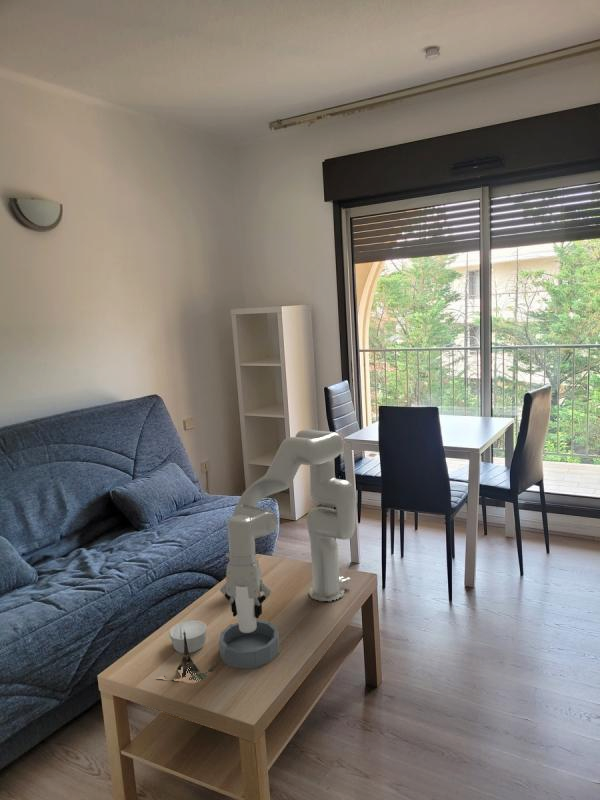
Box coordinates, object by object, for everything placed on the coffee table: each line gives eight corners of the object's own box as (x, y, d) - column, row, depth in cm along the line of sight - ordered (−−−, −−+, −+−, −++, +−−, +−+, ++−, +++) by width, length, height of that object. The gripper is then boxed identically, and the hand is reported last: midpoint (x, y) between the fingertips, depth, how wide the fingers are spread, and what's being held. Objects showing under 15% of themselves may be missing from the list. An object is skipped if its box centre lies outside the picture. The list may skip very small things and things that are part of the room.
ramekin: (163, 647, 179) (162, 631, 178) (193, 631, 187) (191, 616, 186) (185, 660, 171) (183, 643, 170) (215, 643, 179) (213, 627, 178)
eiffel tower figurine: (154, 681, 163) (149, 637, 161) (171, 660, 172) (166, 618, 170) (204, 687, 159) (199, 642, 157) (218, 665, 168) (214, 622, 167)
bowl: (262, 628, 186) (261, 614, 185) (289, 654, 171) (288, 638, 170) (212, 647, 177) (210, 631, 176) (235, 675, 162) (234, 659, 161)
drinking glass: (255, 636, 169) (252, 587, 167) (233, 634, 170) (230, 586, 168) (261, 623, 175) (258, 577, 173) (240, 622, 177) (237, 576, 174)
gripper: (210, 561, 168) (215, 619, 171) (267, 564, 164) (271, 624, 166) (220, 551, 175) (224, 606, 178) (274, 554, 171) (278, 611, 173)
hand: (247, 614), depth 172 cm, fingers closed on drinking glass, 6 cm apart
